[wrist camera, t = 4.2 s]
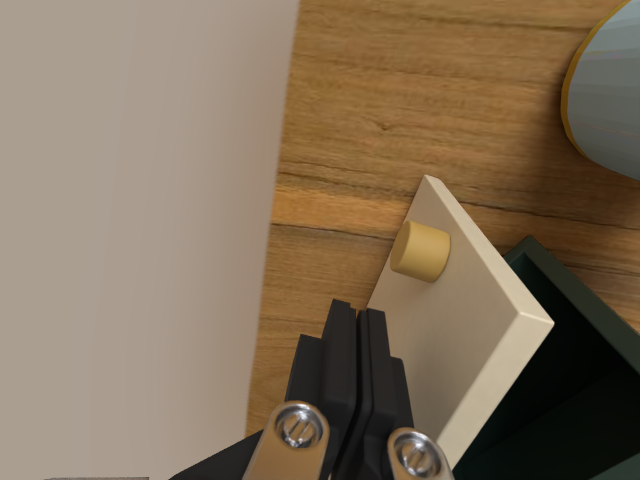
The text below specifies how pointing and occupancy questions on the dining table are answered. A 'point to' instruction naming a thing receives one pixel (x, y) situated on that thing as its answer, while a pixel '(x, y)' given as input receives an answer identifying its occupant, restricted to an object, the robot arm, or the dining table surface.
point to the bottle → (607, 93)
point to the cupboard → (564, 389)
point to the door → (454, 319)
